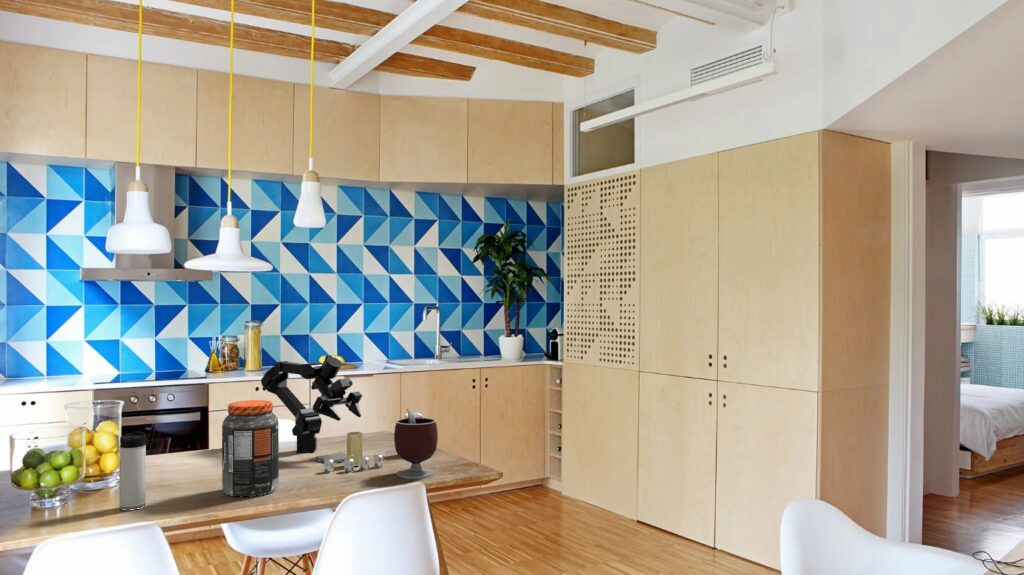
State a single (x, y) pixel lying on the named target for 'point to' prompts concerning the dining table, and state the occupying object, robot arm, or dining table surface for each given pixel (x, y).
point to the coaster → (333, 457)
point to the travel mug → (132, 471)
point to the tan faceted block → (354, 446)
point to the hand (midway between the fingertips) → (350, 418)
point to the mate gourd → (415, 444)
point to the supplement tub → (250, 449)
